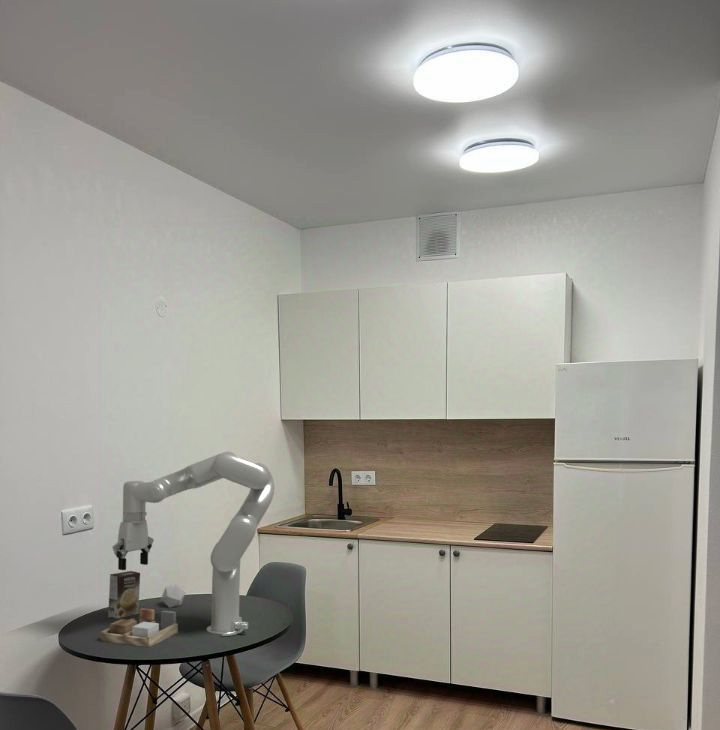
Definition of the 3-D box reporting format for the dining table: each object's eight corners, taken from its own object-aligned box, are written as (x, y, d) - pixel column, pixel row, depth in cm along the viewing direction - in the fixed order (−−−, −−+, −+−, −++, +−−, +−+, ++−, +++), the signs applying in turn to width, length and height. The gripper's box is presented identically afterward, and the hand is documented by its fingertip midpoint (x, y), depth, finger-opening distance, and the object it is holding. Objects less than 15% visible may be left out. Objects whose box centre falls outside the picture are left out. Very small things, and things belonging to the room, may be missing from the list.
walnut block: (155, 627, 244) (155, 609, 244) (124, 641, 228) (125, 622, 228) (140, 625, 245) (141, 608, 246) (109, 639, 230) (110, 620, 230)
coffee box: (117, 621, 253) (118, 576, 255) (107, 618, 257) (109, 574, 259) (139, 616, 261) (140, 572, 262) (129, 613, 265) (130, 570, 266)
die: (184, 609, 272) (191, 586, 278) (165, 601, 268) (173, 577, 274) (173, 613, 277) (180, 590, 283) (154, 605, 273) (162, 582, 279)
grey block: (176, 629, 241) (177, 612, 241) (147, 644, 225) (148, 625, 225) (162, 627, 243) (162, 610, 243) (132, 642, 227) (132, 623, 227)
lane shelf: (188, 629, 244) (189, 618, 244) (148, 650, 222) (149, 637, 223) (143, 624, 250) (144, 613, 250) (100, 644, 229) (100, 631, 229)
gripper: (145, 513, 251) (144, 561, 250) (106, 519, 236) (105, 570, 235) (160, 514, 248) (159, 563, 246) (121, 521, 233) (120, 573, 231)
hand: (133, 567), depth 241 cm, fingers open, 9 cm apart
